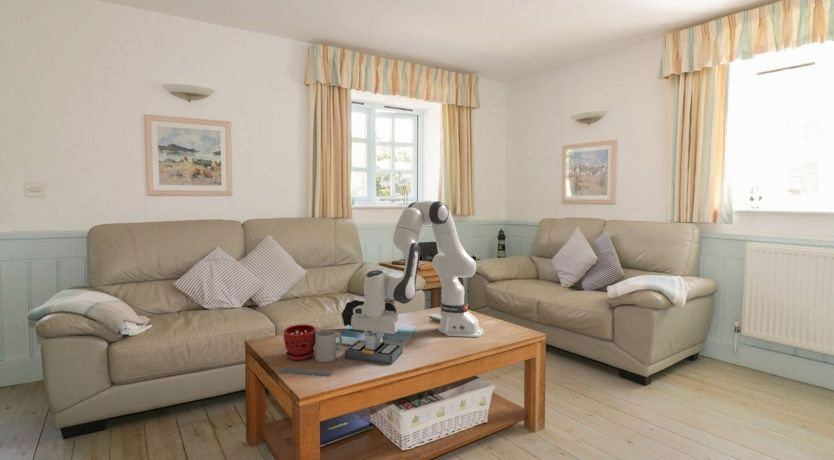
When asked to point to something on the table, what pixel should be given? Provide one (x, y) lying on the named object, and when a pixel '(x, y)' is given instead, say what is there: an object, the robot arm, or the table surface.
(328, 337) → the mug
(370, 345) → the grey rectangular block
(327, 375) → the half round rod
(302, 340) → the plant pot
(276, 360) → the table surface
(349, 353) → the rack
